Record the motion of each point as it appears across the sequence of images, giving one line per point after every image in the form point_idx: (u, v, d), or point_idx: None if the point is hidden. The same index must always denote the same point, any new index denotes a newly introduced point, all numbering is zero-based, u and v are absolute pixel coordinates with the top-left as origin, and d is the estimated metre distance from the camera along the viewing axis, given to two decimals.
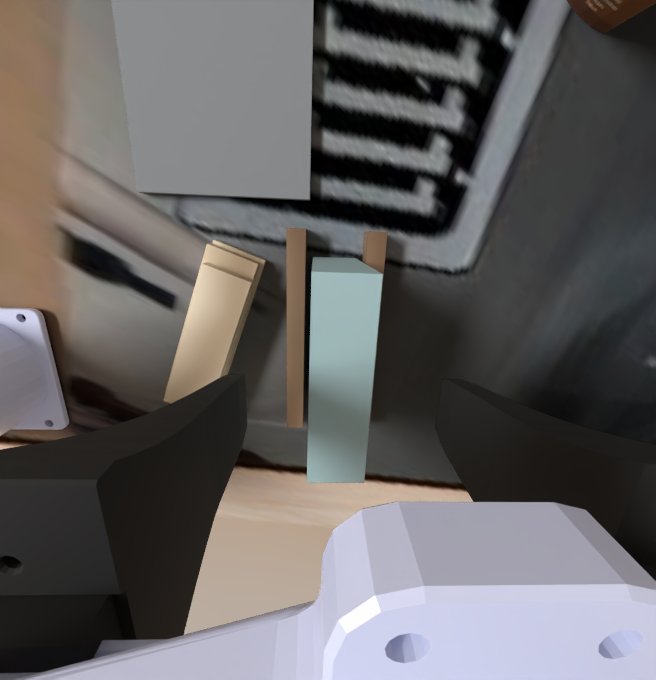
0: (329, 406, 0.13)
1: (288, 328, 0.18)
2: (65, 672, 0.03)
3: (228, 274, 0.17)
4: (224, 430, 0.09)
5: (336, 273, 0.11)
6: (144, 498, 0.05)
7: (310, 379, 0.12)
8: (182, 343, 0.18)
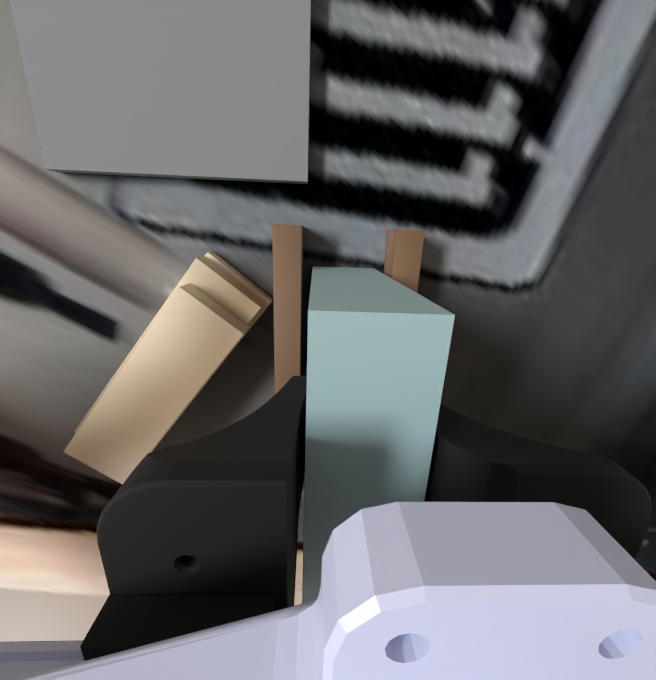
0: None
1: (277, 370, 0.13)
2: (65, 672, 0.03)
3: (213, 313, 0.11)
4: (303, 431, 0.09)
5: (359, 314, 0.05)
6: (292, 499, 0.05)
7: (306, 504, 0.07)
8: (115, 384, 0.12)
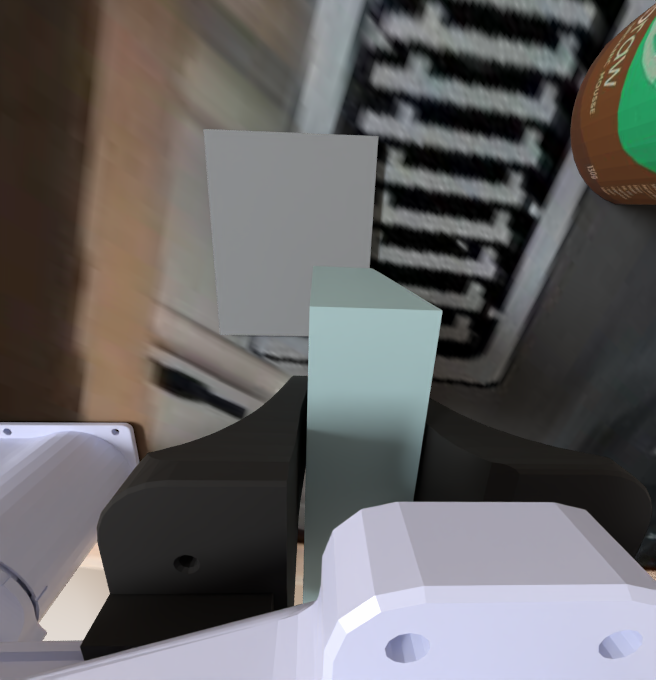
0: (338, 525, 0.08)
1: None
2: (65, 672, 0.03)
3: None
4: (303, 431, 0.09)
5: (356, 309, 0.06)
6: (291, 498, 0.05)
7: (307, 485, 0.07)
8: None
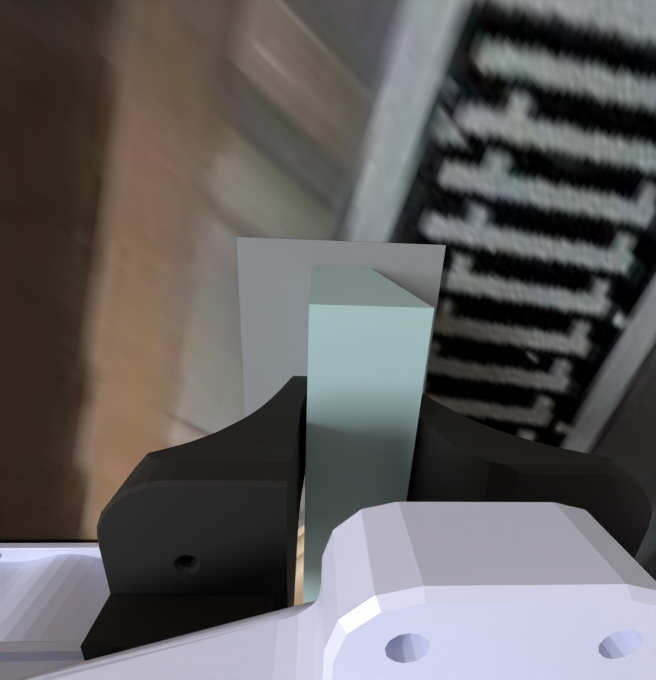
0: (337, 513, 0.08)
1: None
2: (65, 672, 0.03)
3: None
4: (303, 431, 0.09)
5: (352, 307, 0.06)
6: (292, 499, 0.05)
7: (307, 474, 0.08)
8: None
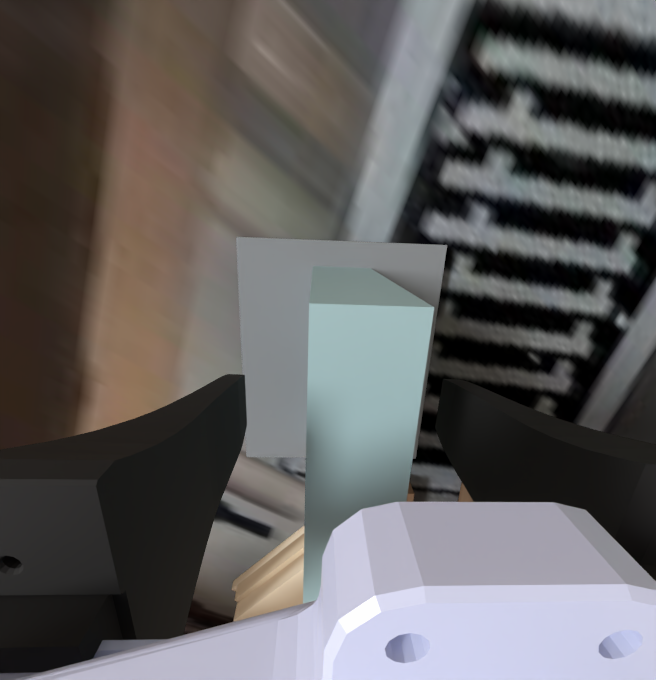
0: (337, 512, 0.08)
1: None
2: (65, 672, 0.03)
3: None
4: (224, 430, 0.09)
5: (352, 306, 0.06)
6: (144, 498, 0.05)
7: (307, 474, 0.08)
8: (282, 586, 0.18)
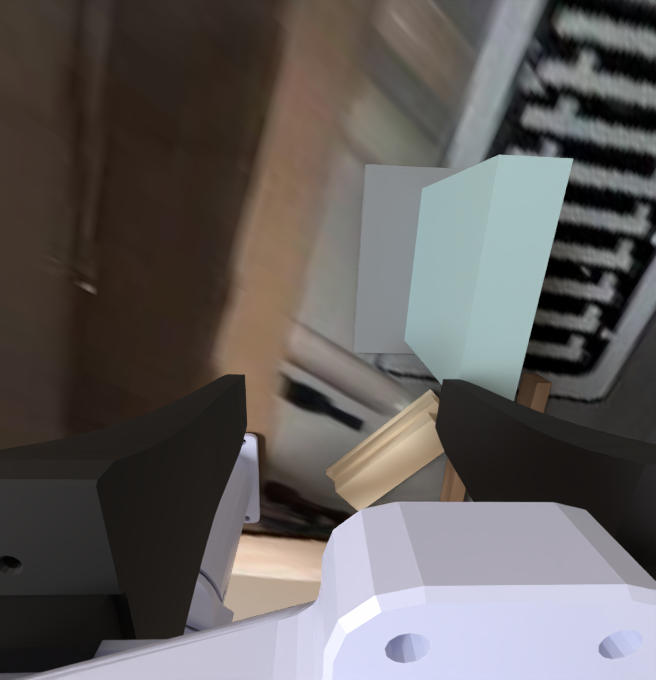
0: (491, 312, 0.12)
1: None
2: (65, 672, 0.03)
3: None
4: (224, 430, 0.09)
5: (524, 157, 0.11)
6: (144, 498, 0.05)
7: (477, 281, 0.12)
8: (378, 460, 0.22)
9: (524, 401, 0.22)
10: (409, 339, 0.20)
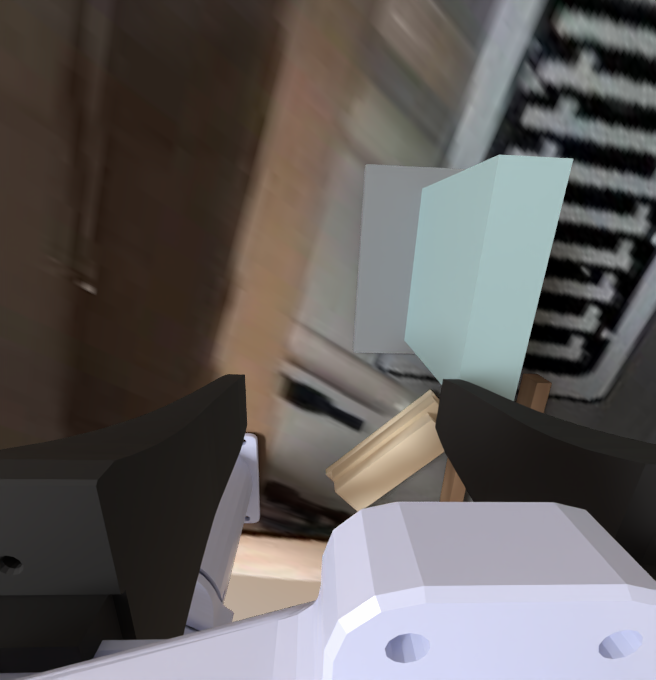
0: (491, 312, 0.12)
1: None
2: (65, 672, 0.03)
3: None
4: (224, 430, 0.09)
5: (524, 157, 0.11)
6: (144, 498, 0.05)
7: (477, 281, 0.12)
8: (378, 460, 0.22)
9: (524, 401, 0.22)
10: (409, 339, 0.20)
